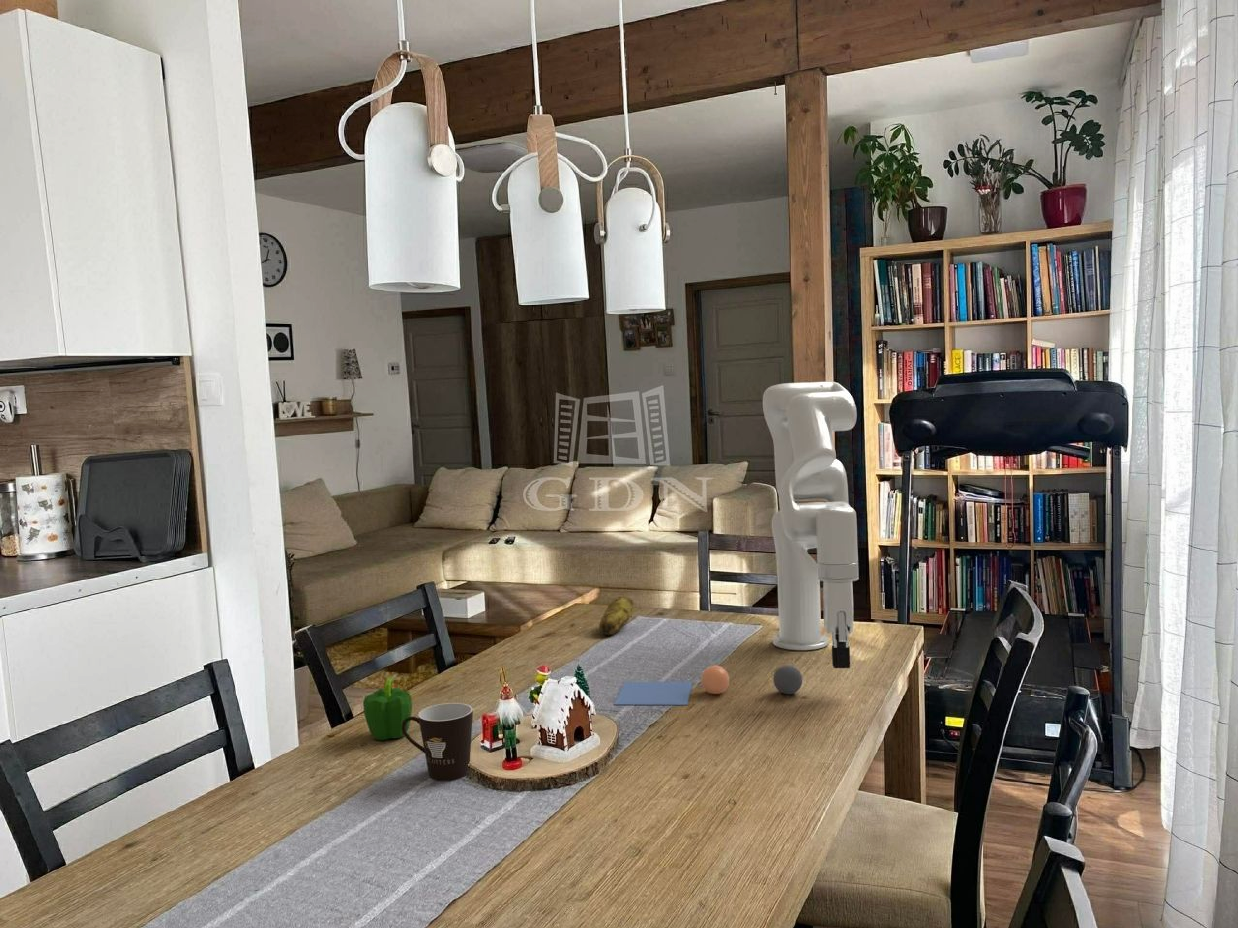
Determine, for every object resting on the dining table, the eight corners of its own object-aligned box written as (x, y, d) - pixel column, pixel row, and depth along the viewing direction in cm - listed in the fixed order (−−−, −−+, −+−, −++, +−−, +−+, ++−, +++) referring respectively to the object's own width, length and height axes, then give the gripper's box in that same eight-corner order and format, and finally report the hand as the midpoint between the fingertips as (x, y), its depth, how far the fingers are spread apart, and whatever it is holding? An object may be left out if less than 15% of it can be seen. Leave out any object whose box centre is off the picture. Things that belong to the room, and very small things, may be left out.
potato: (586, 634, 233) (584, 602, 233) (621, 623, 243) (620, 593, 242) (610, 639, 228) (608, 606, 227) (645, 628, 237) (644, 596, 237)
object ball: (702, 689, 186) (701, 661, 186) (730, 689, 185) (729, 661, 185) (700, 697, 181) (699, 670, 180) (729, 698, 180) (728, 669, 180)
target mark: (624, 682, 193) (624, 681, 193) (692, 682, 191) (692, 681, 191) (614, 704, 179) (614, 703, 179) (687, 705, 177) (687, 704, 177)
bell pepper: (398, 746, 162) (394, 689, 162) (357, 742, 165) (353, 687, 164) (423, 729, 170) (419, 675, 170) (383, 726, 173) (380, 673, 172)
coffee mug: (487, 770, 150) (484, 709, 149) (443, 788, 144) (439, 725, 143) (443, 753, 158) (440, 696, 157) (400, 770, 152) (396, 710, 151)
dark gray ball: (773, 689, 184) (772, 661, 184) (802, 689, 183) (801, 661, 183) (774, 698, 179) (773, 669, 178) (803, 698, 178) (802, 669, 177)
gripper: (815, 565, 186) (818, 657, 186) (820, 578, 171) (824, 677, 172) (854, 564, 184) (857, 656, 185) (862, 577, 170) (866, 677, 170)
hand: (841, 666), depth 178 cm, fingers closed
